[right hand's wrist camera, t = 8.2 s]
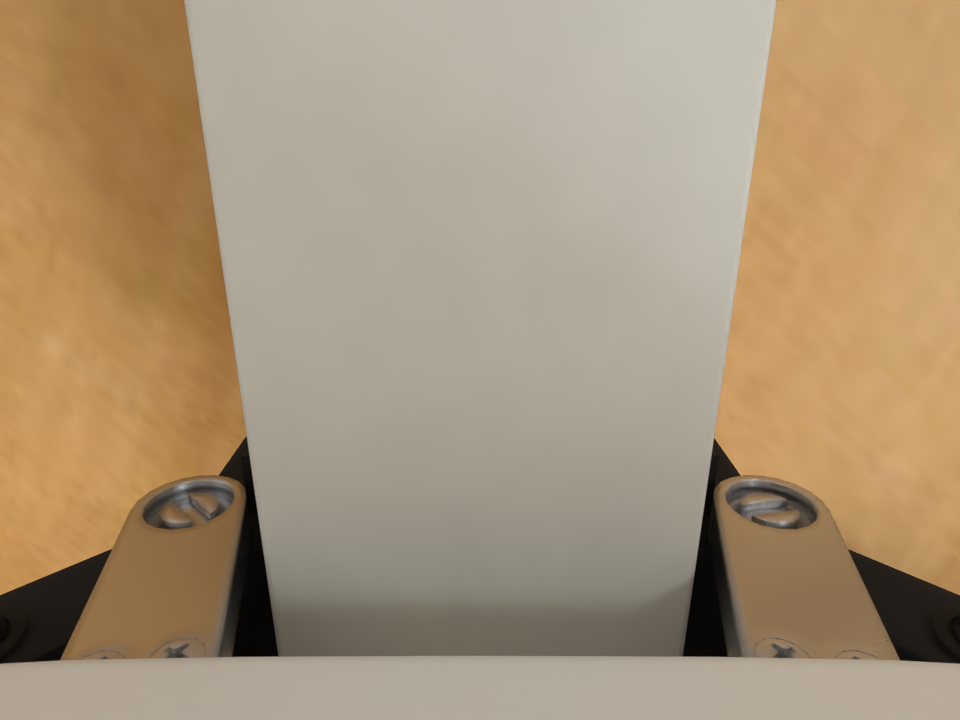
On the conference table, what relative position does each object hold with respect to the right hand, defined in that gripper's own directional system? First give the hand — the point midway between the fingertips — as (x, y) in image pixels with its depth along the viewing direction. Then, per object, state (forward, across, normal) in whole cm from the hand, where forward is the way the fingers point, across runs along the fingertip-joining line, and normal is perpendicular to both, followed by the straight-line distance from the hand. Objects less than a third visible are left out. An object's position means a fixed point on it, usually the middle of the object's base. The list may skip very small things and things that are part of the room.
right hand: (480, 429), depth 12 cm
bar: (+3, 0, +34) cm, 34 cm away
